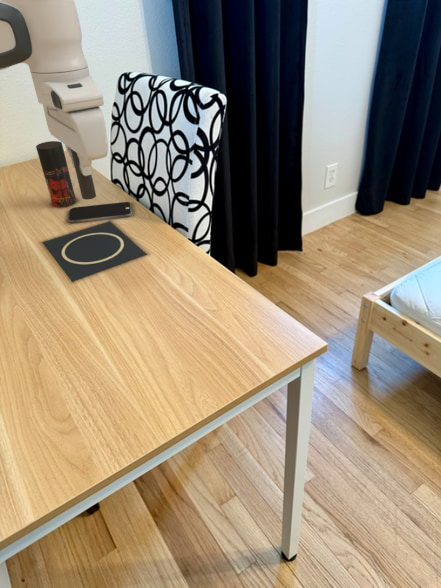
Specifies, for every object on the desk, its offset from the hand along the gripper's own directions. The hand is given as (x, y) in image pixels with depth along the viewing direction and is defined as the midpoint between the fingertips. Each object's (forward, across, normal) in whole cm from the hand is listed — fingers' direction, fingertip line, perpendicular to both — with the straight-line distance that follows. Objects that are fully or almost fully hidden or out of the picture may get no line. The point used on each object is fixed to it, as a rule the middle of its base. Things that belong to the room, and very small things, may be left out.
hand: (83, 171), depth 78 cm
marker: (+5, 0, 0) cm, 5 cm away
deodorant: (+19, -32, +3) cm, 37 cm away
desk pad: (+19, -5, 0) cm, 19 cm away
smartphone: (+19, -20, +8) cm, 28 cm away
